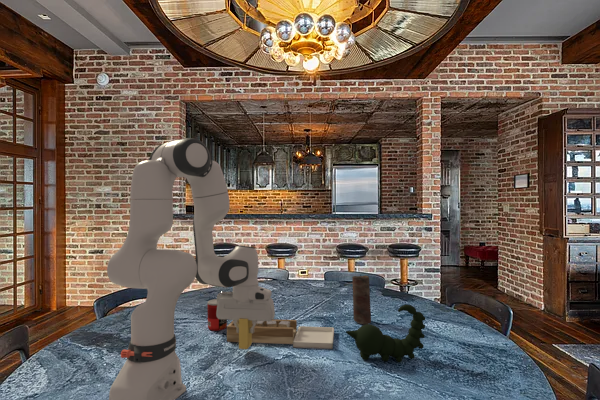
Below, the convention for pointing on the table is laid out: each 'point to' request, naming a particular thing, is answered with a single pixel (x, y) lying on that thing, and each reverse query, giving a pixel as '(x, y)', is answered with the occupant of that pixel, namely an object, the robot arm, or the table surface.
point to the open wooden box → (267, 333)
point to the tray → (314, 337)
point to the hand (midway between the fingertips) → (245, 332)
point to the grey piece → (271, 323)
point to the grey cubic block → (260, 323)
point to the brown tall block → (361, 299)
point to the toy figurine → (389, 339)
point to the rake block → (244, 333)
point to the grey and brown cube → (284, 324)
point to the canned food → (214, 317)
